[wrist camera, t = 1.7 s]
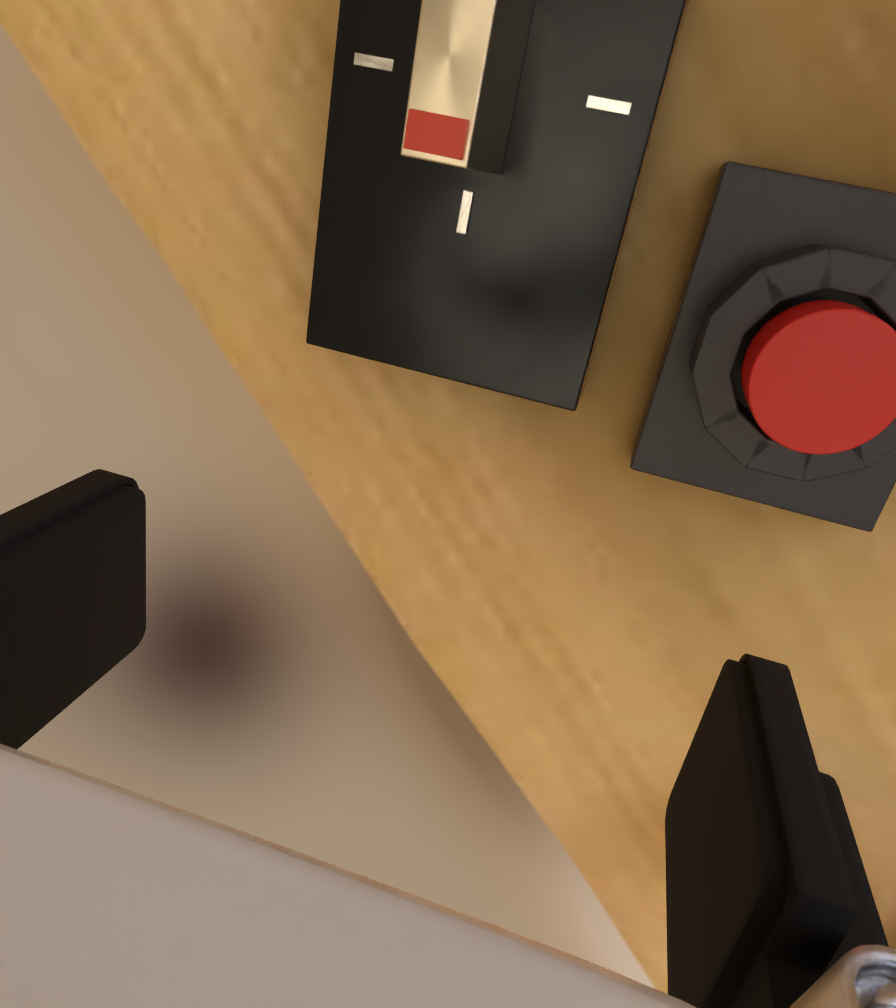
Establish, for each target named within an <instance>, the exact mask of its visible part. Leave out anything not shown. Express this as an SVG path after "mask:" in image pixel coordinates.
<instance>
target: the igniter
mask: <svg viewBox="0 0 896 1008" xmlns="http://www.w3.org/2000/svg"><path fill="white" fill-rule="evenodd" d="M815 300H836V301H842V302H846V303H849V304H852V305H854V306H857V307H859V308H861V309H863V310H865V311H867V312H869V313H871V314H872V315H874V316H876V317H878V318H880V319H881V320H883V321H884V322H886V323H887V324H888V325H890V326H891V327H892V328H893V329H894V330H895V331H896V193H892V192H887V191H882V190H876V189H871V188H866V187H861V186H855V185H850V184H845V183H840V182H835V181H829V180H824V179H819V178H814V177H808V176H803V175H798V174H793V173H787V172H782V171H777V170H772V169H766V168H761V167H756V166H751V165H745V164H740V163H735V162H730V161H728V162H726V163H724V164H722V166H721V168H720V171H719V175H718V178H717V181H716V184H715V188H714V191H713V194H712V197H711V200H710V204H709V207H708V210H707V213H706V216H705V220H704V223H703V226H702V229H701V232H700V236H699V239H698V242H697V245H696V248H695V252H694V255H693V258H692V261H691V265H690V268H689V271H688V274H687V277H686V281H685V284H684V287H683V290H682V293H681V297H680V300H679V303H678V306H677V309H676V313H675V316H674V319H673V322H672V325H671V329H670V332H669V335H668V338H667V342H666V345H665V348H664V351H663V354H662V358H661V361H660V364H659V367H658V370H657V374H656V377H655V380H654V383H653V386H652V390H651V393H650V396H649V399H648V402H647V406H646V409H645V412H644V415H643V419H642V422H641V425H640V428H639V431H638V435H637V438H636V441H635V444H634V447H633V451H632V454H631V464H630V468H631V469H633V470H637V471H641V472H644V473H648V474H652V475H656V476H660V477H663V478H667V479H671V480H675V481H679V482H682V483H686V484H690V485H694V486H697V487H701V488H705V489H709V490H713V491H716V492H720V493H724V494H728V495H732V496H735V497H739V498H743V499H747V500H751V501H754V502H758V503H762V504H766V505H770V506H773V507H777V508H781V509H785V510H788V511H792V512H796V513H800V514H804V515H807V516H811V517H815V518H819V519H823V520H826V521H830V522H834V523H838V524H842V525H845V526H849V527H853V528H857V529H860V530H864V531H868V532H871V531H872V530H873V528H874V526H875V524H876V521H877V519H878V517H879V515H880V513H881V511H882V509H883V507H884V505H885V503H886V501H887V499H888V497H889V495H890V493H891V491H892V489H893V487H894V484H895V482H896V417H895V419H894V420H893V421H892V422H891V423H890V424H889V425H888V426H887V428H885V429H884V430H883V431H882V432H881V433H880V434H878V435H877V436H875V437H874V438H873V439H871V440H870V441H868V442H866V443H864V444H862V445H860V446H858V447H855V448H853V449H850V450H846V451H843V452H839V453H833V454H819V455H818V454H807V453H801V452H797V451H794V450H791V449H788V448H786V447H784V446H782V445H780V444H779V443H777V442H775V441H774V440H772V439H771V438H770V437H769V436H768V435H767V434H766V433H765V432H764V431H763V430H762V429H761V428H760V426H759V425H758V423H757V422H756V420H755V418H754V416H753V414H752V412H751V409H750V407H749V405H748V403H747V401H746V398H745V396H744V392H743V389H742V383H741V369H742V362H743V359H744V355H745V353H746V350H747V348H748V346H749V344H750V342H751V341H752V339H753V337H754V336H755V335H756V333H757V332H758V331H759V330H760V329H761V328H762V327H763V326H764V325H765V324H766V323H767V322H768V321H769V320H770V319H772V318H773V317H774V316H776V315H777V314H779V313H780V312H782V311H784V310H786V309H788V308H790V307H792V306H795V305H798V304H801V303H804V302H809V301H815Z"/></svg>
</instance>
